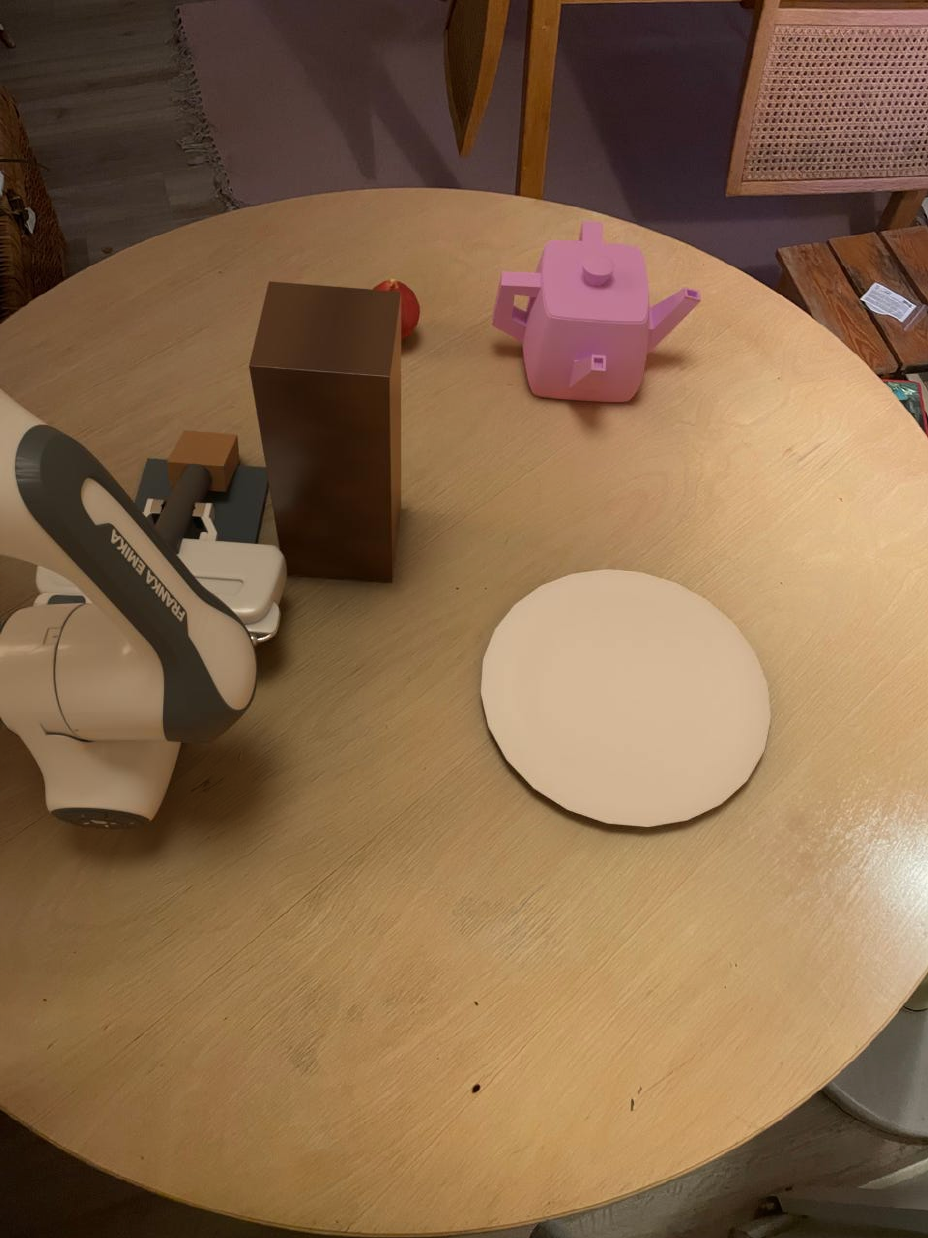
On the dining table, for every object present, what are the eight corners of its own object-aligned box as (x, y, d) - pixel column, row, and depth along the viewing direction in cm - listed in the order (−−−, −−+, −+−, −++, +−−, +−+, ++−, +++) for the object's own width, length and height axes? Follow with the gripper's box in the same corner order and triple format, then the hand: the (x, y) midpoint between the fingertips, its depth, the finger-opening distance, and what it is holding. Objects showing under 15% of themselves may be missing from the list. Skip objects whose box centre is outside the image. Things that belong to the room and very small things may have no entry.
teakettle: (576, 282, 119) (593, 187, 108) (690, 363, 113) (719, 269, 102) (469, 351, 112) (476, 256, 101) (584, 440, 106) (604, 349, 95)
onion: (354, 335, 112) (351, 274, 106) (395, 312, 115) (395, 251, 108) (388, 364, 110) (388, 305, 103) (430, 341, 112) (431, 281, 106)
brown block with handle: (194, 566, 87) (191, 539, 86) (132, 562, 87) (128, 534, 86) (239, 459, 102) (237, 434, 100) (186, 455, 101) (183, 429, 100)
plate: (595, 892, 81) (599, 885, 79) (424, 656, 91) (424, 646, 90) (826, 737, 89) (833, 728, 88) (644, 537, 100) (648, 526, 98)
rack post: (283, 575, 95) (248, 365, 73) (297, 498, 100) (268, 280, 78) (392, 583, 95) (389, 376, 73) (401, 506, 100) (401, 291, 78)
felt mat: (98, 637, 91) (96, 632, 90) (148, 463, 101) (147, 457, 101) (236, 647, 91) (234, 643, 90) (271, 472, 102) (270, 467, 101)
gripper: (270, 627, 82) (296, 491, 89) (11, 608, 82) (58, 473, 89) (278, 666, 87) (302, 535, 95) (35, 648, 87) (77, 518, 94)
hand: (181, 504), depth 92 cm, fingers closed on brown block with handle, 3 cm apart
